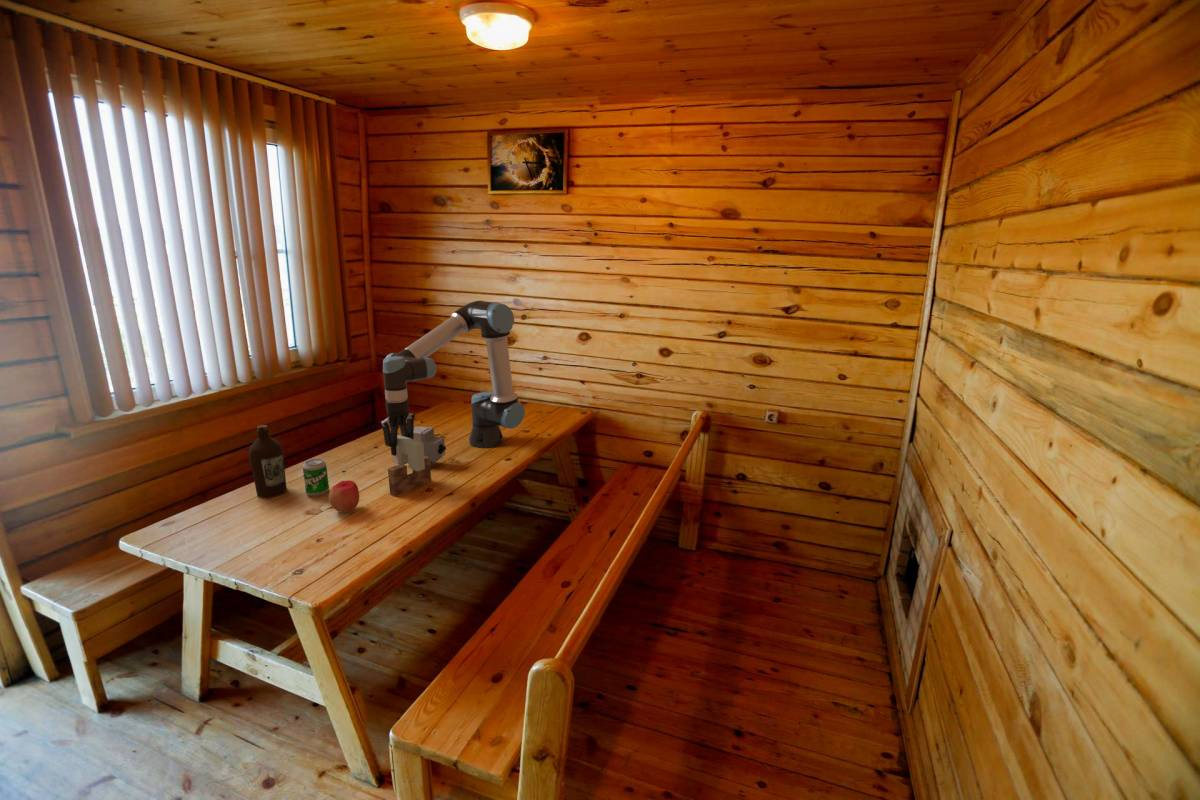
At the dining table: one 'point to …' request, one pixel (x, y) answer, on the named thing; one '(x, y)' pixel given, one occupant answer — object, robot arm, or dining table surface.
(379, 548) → the dining table surface
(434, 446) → the circuit breaker
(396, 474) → the brown notched flat block
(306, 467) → the soda can
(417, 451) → the grey panel
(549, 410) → the dining table surface
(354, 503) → the apple
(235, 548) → the dining table surface
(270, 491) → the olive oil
